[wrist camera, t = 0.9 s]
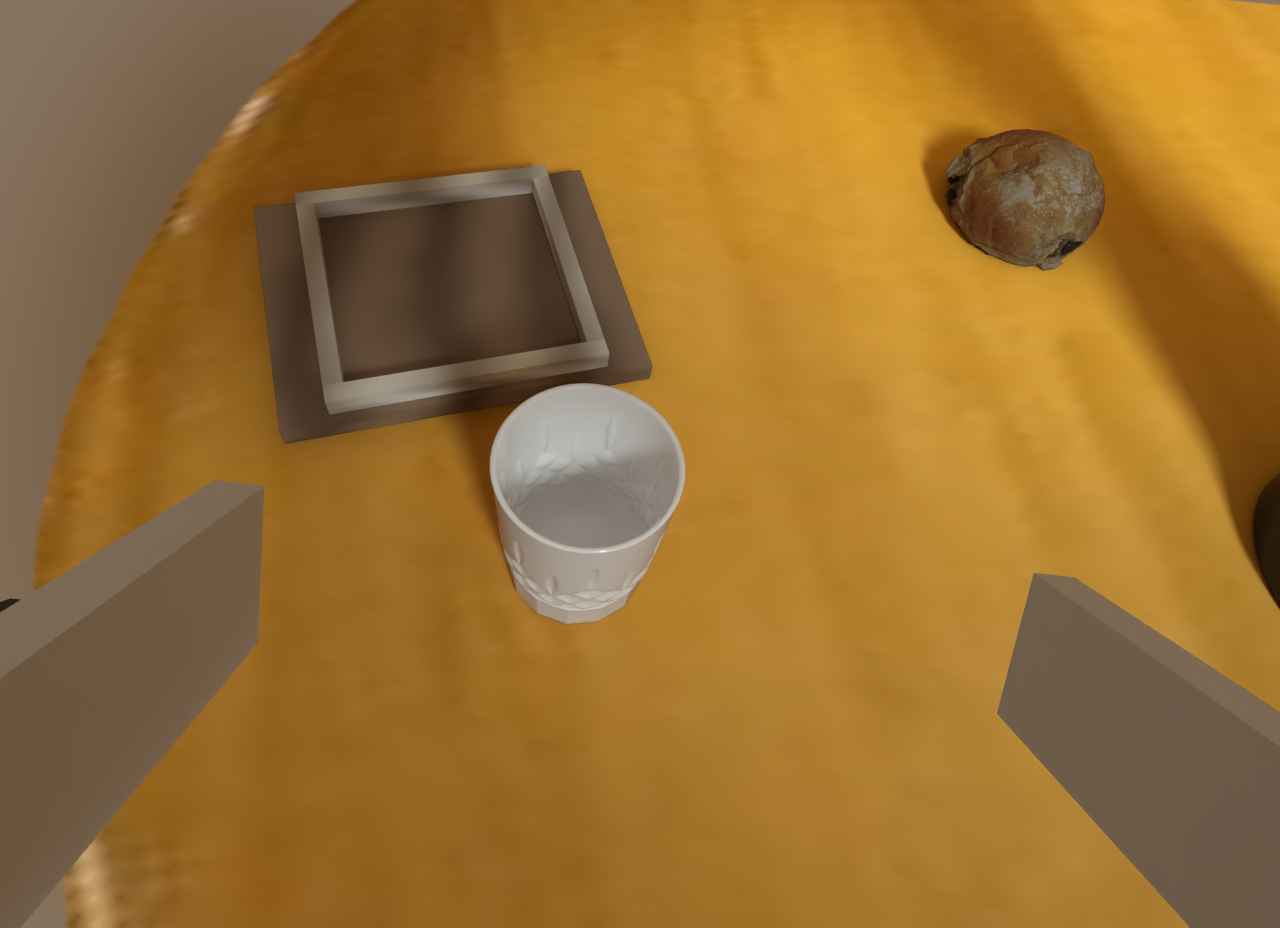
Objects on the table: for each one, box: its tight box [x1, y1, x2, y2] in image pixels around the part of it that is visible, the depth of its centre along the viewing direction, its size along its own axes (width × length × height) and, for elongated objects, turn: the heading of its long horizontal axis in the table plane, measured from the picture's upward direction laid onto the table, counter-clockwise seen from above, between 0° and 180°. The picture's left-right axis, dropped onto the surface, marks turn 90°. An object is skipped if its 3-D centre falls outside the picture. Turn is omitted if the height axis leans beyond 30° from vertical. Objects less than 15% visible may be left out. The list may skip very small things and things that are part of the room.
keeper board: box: [254, 165, 652, 444], centre depth 49 cm, size 20×16×2 cm
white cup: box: [490, 383, 685, 624], centre depth 38 cm, size 8×8×10 cm
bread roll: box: [945, 129, 1105, 271], centre depth 58 cm, size 10×10×8 cm
